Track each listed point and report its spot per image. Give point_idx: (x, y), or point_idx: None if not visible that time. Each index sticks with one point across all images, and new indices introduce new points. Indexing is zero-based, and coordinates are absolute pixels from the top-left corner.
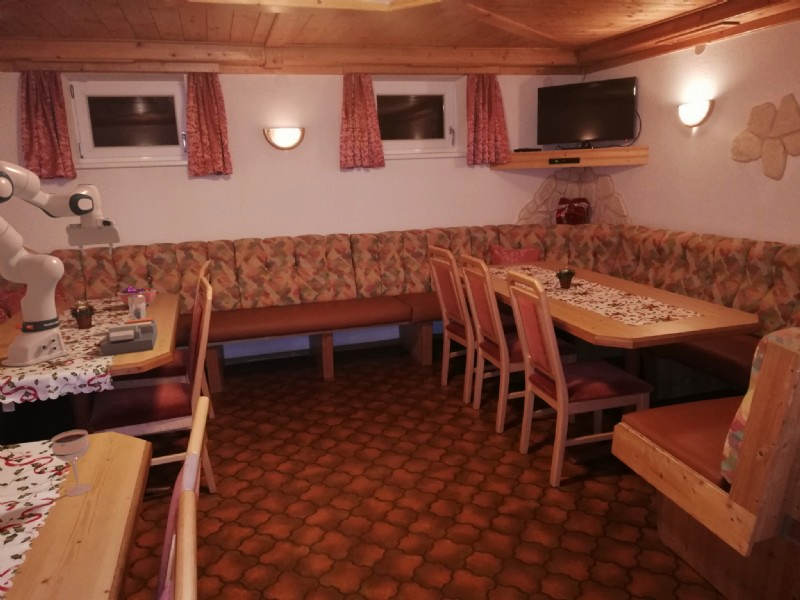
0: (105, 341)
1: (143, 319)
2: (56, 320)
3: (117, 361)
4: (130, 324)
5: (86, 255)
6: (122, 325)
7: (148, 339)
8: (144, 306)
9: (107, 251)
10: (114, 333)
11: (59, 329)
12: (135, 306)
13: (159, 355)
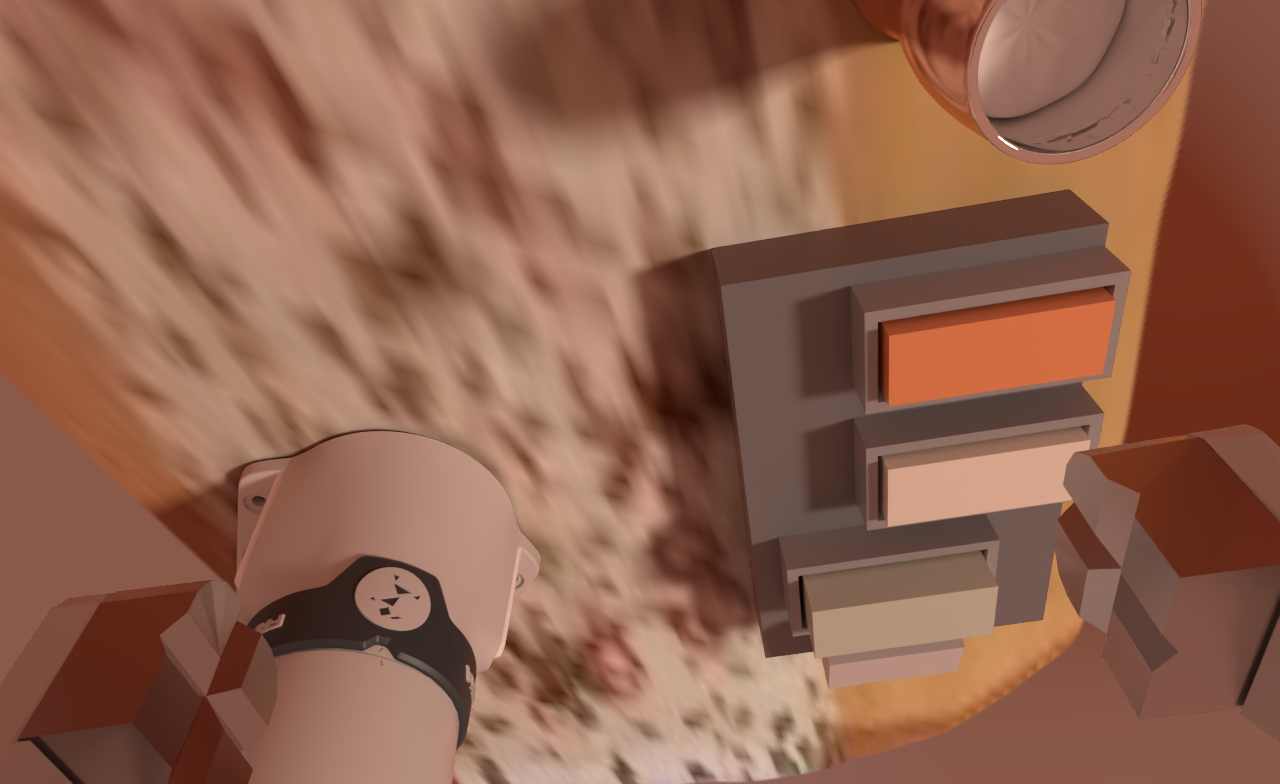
0: (773, 595)
1: (1033, 352)
2: (470, 710)
3: (853, 692)
4: (954, 605)
5: (270, 688)
6: (901, 616)
7: (1024, 613)
8: (1102, 58)
9: (1136, 661)
10: (854, 669)
11: (469, 619)
12: (1004, 129)
13: (1044, 658)
